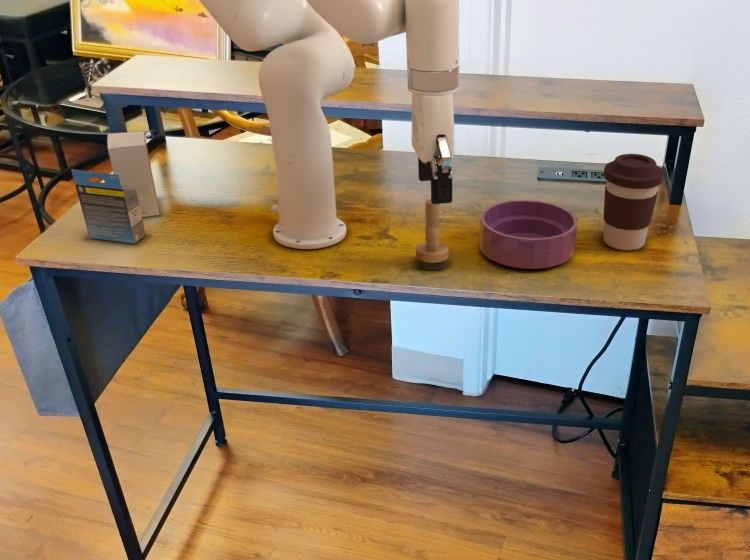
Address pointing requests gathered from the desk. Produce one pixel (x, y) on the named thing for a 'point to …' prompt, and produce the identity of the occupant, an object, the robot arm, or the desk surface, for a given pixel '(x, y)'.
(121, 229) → the blue retail box
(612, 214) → the coffee cup
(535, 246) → the bowl
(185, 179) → the desk surface
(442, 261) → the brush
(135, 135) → the small box
